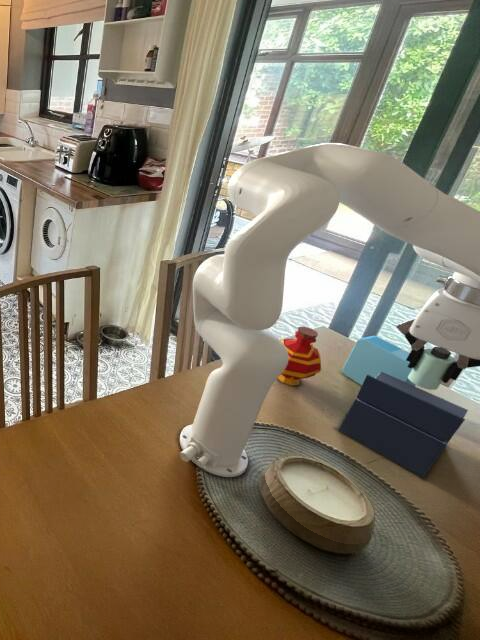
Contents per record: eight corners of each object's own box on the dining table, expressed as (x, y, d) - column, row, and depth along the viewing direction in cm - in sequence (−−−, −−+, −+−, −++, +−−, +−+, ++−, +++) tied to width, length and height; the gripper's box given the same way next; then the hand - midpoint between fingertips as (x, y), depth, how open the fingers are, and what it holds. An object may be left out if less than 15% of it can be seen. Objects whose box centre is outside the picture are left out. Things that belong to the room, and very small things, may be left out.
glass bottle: (434, 392, 79) (454, 360, 76) (404, 380, 82) (423, 348, 79) (440, 384, 81) (461, 352, 78) (411, 372, 84) (430, 341, 81)
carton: (422, 478, 81) (448, 441, 77) (338, 430, 92) (356, 396, 88) (443, 444, 89) (468, 410, 84) (362, 404, 99) (381, 371, 95)
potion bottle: (320, 395, 102) (344, 346, 95) (274, 389, 104) (294, 341, 97) (298, 367, 111) (319, 321, 105) (256, 362, 113) (274, 316, 106)
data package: (405, 401, 100) (429, 362, 95) (392, 405, 99) (416, 366, 94) (352, 369, 110) (371, 333, 105) (340, 372, 109) (358, 335, 104)
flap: (448, 441, 77) (447, 442, 77) (357, 396, 88) (356, 397, 87) (465, 419, 73) (464, 420, 73) (367, 374, 84) (366, 375, 84)
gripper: (406, 279, 78) (366, 356, 85) (550, 322, 65) (488, 407, 72) (419, 269, 81) (379, 344, 89) (557, 308, 68) (497, 391, 76)
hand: (428, 371), depth 81 cm, fingers closed on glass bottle, 4 cm apart
